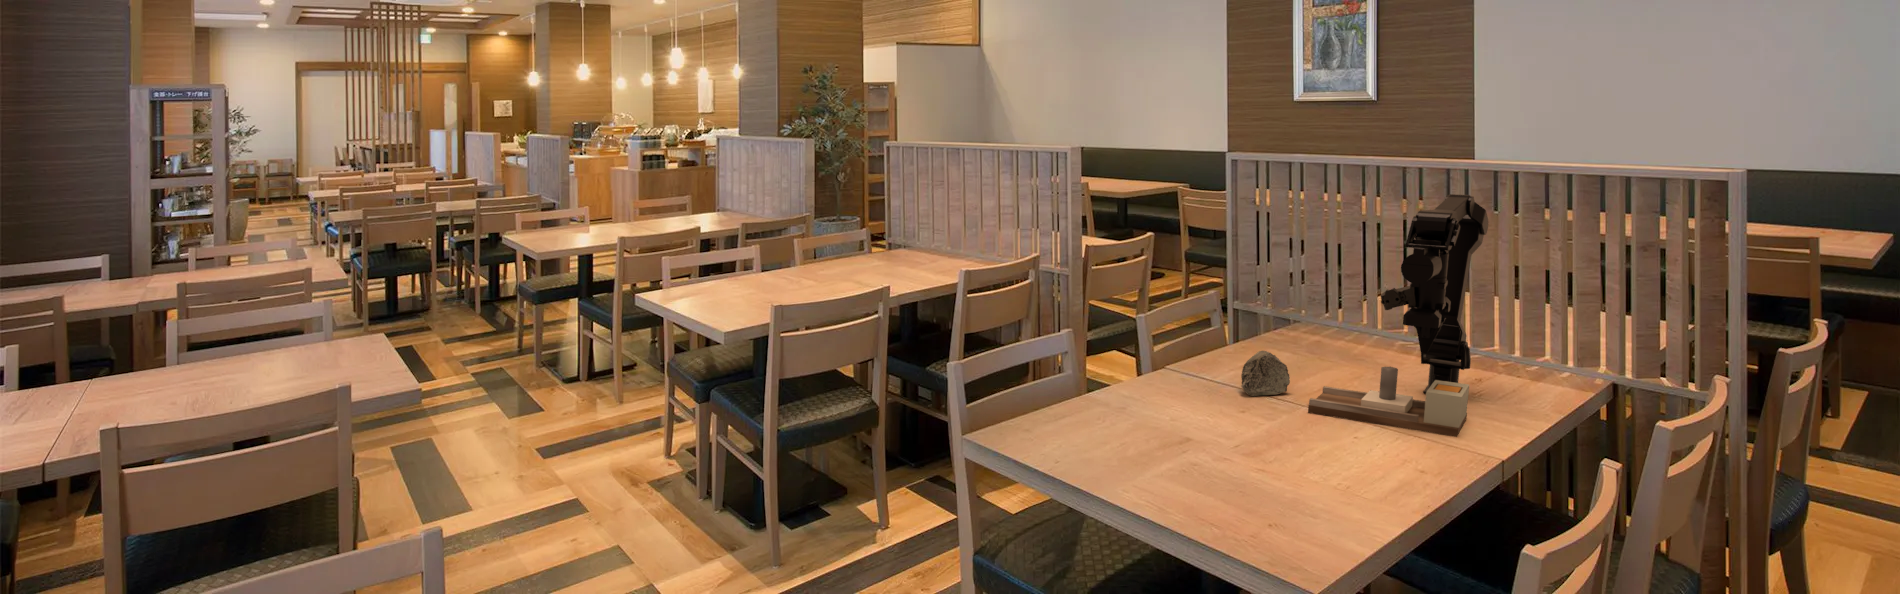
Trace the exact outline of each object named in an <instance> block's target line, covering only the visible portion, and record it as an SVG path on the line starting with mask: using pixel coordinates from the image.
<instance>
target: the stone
mask: <svg viewBox="0 0 1900 594" xmlns="http://www.w3.org/2000/svg"><path fill="white" fill-rule="evenodd" d="M1240 376H1241V385H1240V386H1241V388H1242V389H1243V391H1244V392H1245V393H1246V394H1247V395H1248V396H1251V397H1257V396H1269V395H1279V394H1282V393H1286V392H1287V391H1288V386H1289V385H1290V382H1291V380H1290V373H1289V369H1288V367H1287V365H1286V364H1285V363H1284V362H1282V361H1281V359H1280V358H1279V357H1277V356H1276V355H1275V354H1272V353H1271V352H1269V351H1267V350H1259V351H1258V352H1257V351H1256V353H1255V354H1253V355H1252V356H1251V357H1250V358H1248V359H1247V360H1246V362H1245V363H1244V365H1243V367H1242V371H1241V375H1240Z"/></svg>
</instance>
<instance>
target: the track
mask: <svg viewBox="0 0 1900 594" xmlns="http://www.w3.org/2000/svg"><path fill="white" fill-rule="evenodd" d="M1367 393H1368V392H1366V391H1358V390H1351V389H1346V388H1339V387H1338V388H1337V387H1334V386H1333V387H1332V386H1325V385H1324V386H1323V387H1322V392H1321V393H1320V395H1318V396H1317V397H1316V398H1313V397H1310V398H1309V399H1308V400H1309V401H1308V405H1307V406H1308V407H1307V409H1308V410H1307V413H1308V414H1315V415H1321V416H1327V417H1333V418H1340V419H1344V420H1351V421H1356V422H1363V423H1370V424H1375V425H1382V426H1388V427H1394V428H1399V429H1400V428H1401V429H1406V430H1412V431H1418V432H1424V433H1430V434H1436V435H1442V436H1449V437H1453V438H1458V436H1459V435H1460V433H1461V431H1462V429H1463V428H1464V426H1465V425H1466V422H1467V419H1468V413H1467V414H1466V416H1465V418H1464V420H1463V421H1462V423H1461V425H1460V427H1459V428H1456V427H1450V426H1443V425H1437V424H1431V423H1425V422H1424V412H1425V400H1421V399H1420V400H1419V399H1414V398H1413V403H1412V407H1411V408H1410V410H1409V411H1408V412H1407V413H1403V412H1396V411H1390V410H1384V409H1377V408H1371V407H1364V406H1361V399H1362V398H1363V397H1364V396H1365V395H1366V394H1367Z"/></svg>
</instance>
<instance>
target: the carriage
mask: <svg viewBox="0 0 1900 594" xmlns="http://www.w3.org/2000/svg"><path fill="white" fill-rule="evenodd" d="M1398 374H1399V369H1398V368H1397V367H1393V366H1381V370H1380V379H1379V380H1380V381H1379V390H1372V389H1369V391H1368V392H1367V394H1366V395H1365V396H1364V397H1363V398H1362V399H1361V406H1364V407H1371V408H1377V409H1384V410H1390V411H1396V412H1403V413H1407V412H1408V411H1409V410H1410V408H1411V407H1412V403H1413V399H1414V396H1413V395H1407V394H1399V393H1397V387H1398V386H1397V385H1398Z"/></svg>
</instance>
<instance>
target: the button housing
mask: <svg viewBox="0 0 1900 594" xmlns="http://www.w3.org/2000/svg"><path fill="white" fill-rule="evenodd" d="M1438 384H1440V385H1447V386H1454V387H1461V392H1460V393H1457V392H1450V391H1443V390H1436V389H1435V388H1436V387H1437V385H1438ZM1469 393H1470V384H1468V383H1459V382H1458V383H1454V382H1447V381H1440V380H1435V381H1434V382H1433V384H1432V385H1431V386H1430V388H1429V389H1428V390H1427V392H1426V394H1425V400H1424V401H1425V412H1424V422H1425V423H1431V424H1437V425H1443V426H1450V427H1456V428H1459V427H1460V425H1461V423H1462V421H1463V420H1464V418H1465V416H1466V414H1467V415H1468V402H1469Z"/></svg>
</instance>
